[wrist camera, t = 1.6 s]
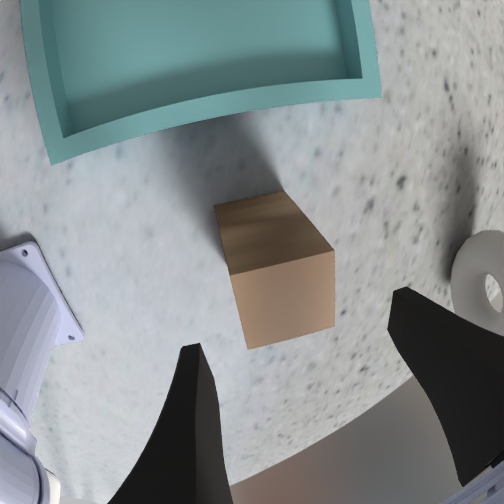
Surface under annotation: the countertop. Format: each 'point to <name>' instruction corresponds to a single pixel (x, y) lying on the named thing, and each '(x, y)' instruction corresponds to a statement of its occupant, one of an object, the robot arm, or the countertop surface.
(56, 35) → the tray
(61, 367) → the countertop surface
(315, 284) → the block
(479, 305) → the donut
